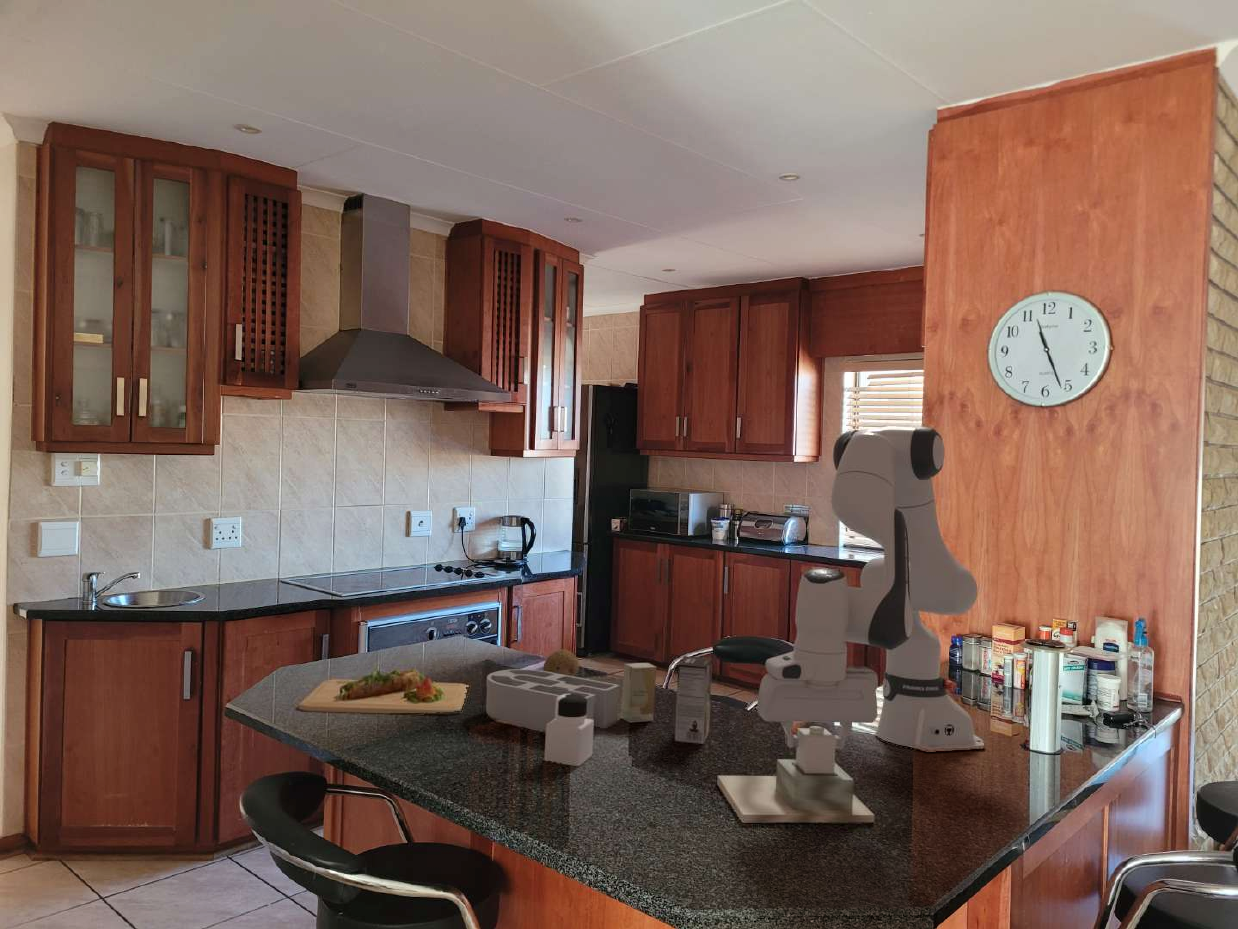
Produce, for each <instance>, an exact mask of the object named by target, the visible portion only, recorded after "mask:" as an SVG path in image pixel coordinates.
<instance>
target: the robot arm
mask: <svg viewBox="0 0 1238 929" xmlns="http://www.w3.org/2000/svg"><path fill="white" fill-rule="evenodd" d="M832 453H833V454H832V457H833V459H832V460H833V465H834V468H835V470H836V473H835V477H834V481H833V484H832V490H831V491H832V492H831V501H830V504H831V508H832V510H833V513H834V515H835V516H836V518H837V519H838V521H840V523H842V524H843V526H845V527H846V528H848V529H849V530H851V531H853V532H854V533H856V534H858V535H860V536H863V537H865V538H867V539H870V540H871V541H873V542H875V543H876V544H878V545H879V546H881V547H882V548H883V557H877V558H871V559H870V560H868V561H867V563H865V565H864V567H863V568H862V571H861V574H860V577H859V578H860V579H859V580H860V587H855V586H849V585H848V581H847V576H846V574H845V573H843V572H842V571H840V570H837V569H834V568H824V567H823V568H813V569H809V570H807V571H805V572H804V573H802V575H801V577H800V580H799V585H798V591H797V597H796V603H795V605H796V606H795V620H794V622H795V627H796V638H795V640H794V644H793V651H790V652H787V653H784V654H781V655H776V656H773V657H770V658H768V659H766V661H765V670H766V671H767V674H765V675H764V676H763V677H762V679H761V681H760V685H759V690H758V697H757V704H756V705H757V706H756V709H757V713H758V714H759V716H760V718H762V719H763V720H764V721H765V722H781V726H782V729H783V731H784V733H785V734H786V735H787V737H786V738H787V739H786V745H787V747H788V748H790V749H791V748H793V749H794V748H795V749H797V748H798V742H799V738H798V737H797V734H793V732H792V730H791V729H793V728H794V723H795V722H796V723H839V725H840V726H841V727H840V730H839V731H838V733H837V734H835V735H833V734H832V735H833V736H835V737H836V744H835V749H845V746H846V745H845V743H846V742H845V741H846V739H847V738H848V735H849V734H850V733H851V731H852V729H853V723H855V724H856V723H857V724H859V723H863V724H873V723H874V722H875V720H876V719H877V718H878V702H877V700H878V699H877V688H878V685H879V684H878V682H879V680H878V679H879V677H878V674H877V672H875V671H874V670H873V669H871V667H868V666H860V667H859V666H851V665H850V666H847V658H848V657H847V656H848V647H847V643H848V642H849V643H854V644H855V643H856V644H863V645H870V646H871V647H876V648H879V649H884V650H886V662H885V663H886V666H885V670H884V671H883V681H882V697H883V700H882V702H883V703H882V708H881V713H880V717H879V721H878V724H877V728H876V731H875V733H874V735H875V734H876V735H875V737H876V736H878V737H879V738H881V739H883V740H885V741H888V742H893V743H896V744H901V745H906V746H913V747H916V748H922V749H927V750H930V749H941V748H970V747H978V746H984V743H985V742H984V740H983V739H981V738H980V737H979V736H978V735H977V734H975V730H974V723H973V719H972V717H971V715H970V714H969V713H968V712H967V711H966V710H965V709H964V708H962V706H961V705H959V704H958V703H957V701H955V700H954V699H952V697H951V696H949V695H948V694H947V690H948V691H950V692H955V691H956V689H957V688H958V687H957V684H956V683H955V682H954V681H952V680H950V679H948V680H947V679H945V678H943V677H942V676H940V672H941V670H940V668H941V653H942V652H941V651H942V650H941V648H942V647H941V641H940V640H939V638H938V636H937V635H936V634H935V633H934V632H933V631H932V630H931V629H929V628H928V627H927V626H926V625H925V623H924V622H923V620H922V618H921V616H920V612H922V613H928V614H934V615H941V616H953V615H955V616H956V615H964V614H967V613H968V612H969V611H970V610H971V609H972V608H973V606H974V605H975V603H976V601H977V597H978V584H977V581H976V578H975V577H974V575H973V573H972V572H971V571H970V570H969V569H967V568H966V567H964V566H963V565H962V564H961V563H960V562H959V561H958V560H957V559H956V558H955V557H954V556H953V554H952V553H951V551H950V550H949V548H948V547H947V546H946V544H945V542H944V539H943V537H942V534H941V530H940V527H939V521H938V517H937V510H936V502H935V493H934V487H933V486H934V485H933V481H932V478H933V477H936V475H938V474H939V472H940V471H941V470H942V468H943V467H944V466H943V465H944V463H945V462H944V461H945V457H946V454H945V445H944V441H943V439H942V436H941V434H940V433H939V432H938V431H937V430H936V429H935V428H931V427H928V426H927V427H926V426H919V425H918V426H916V427H913V426H912V427H911V426H885V427H879V428H868V429H862V430H858V429H853V430H850V431H846V432H843V433H841V435H840V436H839V437H838V438H837V439H836V441H835V443H834V445H833V451H832ZM846 642H847V643H846ZM878 737H877V738H878ZM879 738H878V739H879ZM881 739H880V740H881ZM883 740H882V741H883ZM885 741H884V742H885ZM977 741H980V742H977ZM888 742H887V743H888ZM983 742H984V743H983Z"/></svg>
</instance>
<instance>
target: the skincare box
mask: <svg viewBox="0 0 1238 929" xmlns="http://www.w3.org/2000/svg"><path fill="white" fill-rule="evenodd" d="M623 666H624V668H623V683H622V694H621V695H622V696H621V710H620V718H621V719H622V720H623V721H626V722H627V723H629V724H630V723H632V724H633V723H640V722H653V721H654V708H655V694H656V693H655V691H656V678H657V666H655V665H654V664H652V663H650V662H635V663H624V665H623Z"/></svg>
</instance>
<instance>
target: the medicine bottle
mask: <svg viewBox="0 0 1238 929" xmlns="http://www.w3.org/2000/svg"><path fill="white" fill-rule="evenodd" d="M586 715H587V699H586V698H585V697H583V696H581V695H578V694H563V695H560V696H558V697H557V698H556V703H555V719H554V720H552V721H551V722H549V723H547V725H546V734H545V742H544V743H545V744H544V746H545V747H544V761H545V762H548V761H551V762H550V763H554V762H556V764H560V763H561V765H567V766H574V767H580V766H581V765H582V764H583V763H585V762H586V761H587V760H588V759H590V758H591V757H592V756H593V745H594V728H595V727H594V720H592V719H586Z"/></svg>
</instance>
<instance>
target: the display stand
mask: <svg viewBox="0 0 1238 929" xmlns="http://www.w3.org/2000/svg"><path fill="white" fill-rule="evenodd" d="M716 778H717V780H716V782H717V783H716V784H717V786H718V787H719V789H720V791H721V792H722V794H723V795H724V797H725V798H726V801H727V802H728V803H729V805H730V804H731V805H730V806H732V807H731V809H732V810H733V809H734V810H733V811H734V813H735V812H736V813H735V815H736V814H737V815H736V816H737V817H739V818H738V819H739V821H740V820H741V821H740V823H741V822H742V823H760V822H874V823H875V814H874V813H873V812H872V811H871V810H870V809H869V808H868V807H867V805H865V804H864V803H863V802H862V801H861V800H859V798H858V797H857V796H856V795H855V794H854V784H855V782H854V781H855V780H854V779H853V778H852V777H851V776H850V774H848V773H847V772H846V771H845V770H844V769H842V768H841V766H839V765H838V764H837V762H835V764H834V773H805V772H804V771H803V770H802V769H801V768H800V767H799V766H798V765H797V764H796V759H787V758H785V759H783V758H782V759H780V758H778V759H776V775H717V777H716ZM742 823H741V824H742Z"/></svg>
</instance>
